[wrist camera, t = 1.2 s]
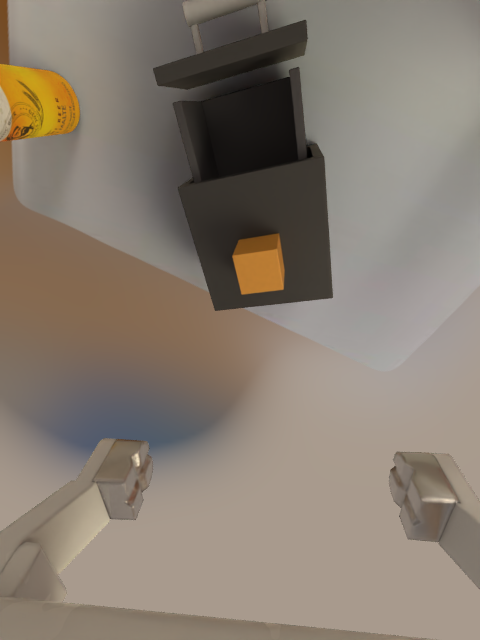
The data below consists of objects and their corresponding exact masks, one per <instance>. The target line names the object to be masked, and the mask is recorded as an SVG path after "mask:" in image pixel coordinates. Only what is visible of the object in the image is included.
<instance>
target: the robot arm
mask: <svg viewBox="0 0 480 640" xmlns="http://www.w3.org/2000/svg"><path fill="white" fill-rule="evenodd" d="M148 451H149V445H148V442H147V441H137V440H124V439H106V438H104V439H103V440H101V441H100V442H99V444H98V445H97V447H96V448H95V450H94V452H93V453H92V455H91V457H90V458H89V460H88V462H87V463H86V465H85V466H84V468H83V469H82V471H81V473H80V474H79V476H78V478H77V479H76V481H70V482H69V483H67V484H66V485H65V486H63V487H62V488H60V489H59V490H58V491H56V492H55V493H53V494H52V495H51V496H49V497H48V498H46V499H45V500H44V501H42V502H41V503H39V504H38V505H37V506H35V507H34V508H32V509H31V510H30V511H28V512H27V513H25V514H24V515H23V516H21V517H20V518H19V519H17V520H16V521H14V522H13V523H12V524H10V525H9V526H8V527H6V528H5V529H3V530H2V531H1V532H0V640H436V639H426V638H416V637H406V636H396V635H386V634H375V633H366V632H356V631H345V630H335V629H325V628H316V627H306V626H296V625H286V624H276V623H266V622H256V621H246V620H236V619H235V620H234V619H226V618H215V617H206V616H195V615H185V614H175V613H165V612H155V611H145V610H135V609H125V608H115V607H105V606H95V605H84V604H75V603H64V602H63V601H64V599H65V596H66V594H67V592H66V588H65V586H64V584H63V583H62V581H61V579H60V578H59V576H58V575H59V573H61V572H62V571H63V570H64V568H65V567H66V566H67V565H68V564H69V563H70V562H71V561H72V560H73V559H74V558H75V557H76V556H77V555H78V554H79V553H80V552H81V551H82V550H83V549H84V548H85V547H86V546H87V545H88V543H89V542H90V541H91V540H92V539H93V538H94V537H95V536H96V535H97V534H98V533H99V532H100V531H101V530H102V529H103V528H104V527H105V526H106V525H107V523H109V522H110V519H122V520H123V519H124V520H136V518H137V516H138V513H139V510H140V508H141V505H142V503H143V496H142V492H143V491H144V490H146V489H147V488H148V487H149V484H150V481H151V478H152V473H153V461H152V458H151V456H149V455H148V454H147V453H148ZM393 460H394V463H395V465H396V466H395V467H394V468H392V469H391V470H390V476H389V485H390V490H391V494H392V497H393V500H394V502H395V503H396V504H397V505H398V506H399V507H400V508H401V512H400V516H399V517H400V519H401V522H402V525H403V527H404V530H405V533H406V536H407V538H408V539H411V540H421V541H431V542H439V545H440V546H441V547H442V548H443V549H444V550H445V551H446V553H447V554H448V555H449V556H450V557H451V558H452V559H453V560H454V562H455V563H456V564H457V565H458V566H459V567H460V568H461V569H462V570H463V572H464V573H465V574H466V575H467V576H468V577H469V578H470V579H471V580H472V581H473V583H474V584H475V585H476V586H477V587H478V588H479V589H480V501H479V499H478V498H477V496H476V495H475V493H474V491H473V490H472V488H471V486H470V485H469V483H468V481H467V480H466V478H465V477H464V475H463V473H462V472H461V470H460V469H459V467H458V465H457V464H456V462H455V461H454V459H453V457H452V456H451V455H449V454H441V453H421V452H397V453H396V454H395V456H394V459H393Z"/></svg>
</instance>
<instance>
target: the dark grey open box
mask: <svg viewBox="0 0 480 640" xmlns="http://www.w3.org/2000/svg"><path fill="white" fill-rule="evenodd" d="M306 150H307V159H303V160H298V161H293V162H289V163H284V164H280V165H275V166H270V167H266V168H261V169H256V170H252V171H247V172H242V173H238V174H233V175H229V176H224V177H219V178H215V179H210V180H205V181H201V182H196V183H194V179H193V177H192V178H191V179H190V180H188V181H187V182H185V183H184V184H183V185H181V186H180V187H178V190H179V194H180V197H181V200H182V203H183V207H184V210H185V213H186V217H187V220H188V223H189V227H190V230H191V233H192V236H193V240H194V243H195V246H196V250H197V253H198V256H199V259H200V263H201V266H202V269H203V273H204V276H205V279H206V282H207V286H208V289H209V292H210V295H211V299H212V302H213V305H214V308H215V311H218V310H227V309H236V308H245V307H254V306H264V305H273V304H282V303H291V302H300V301H309V300H318V299H328V298H333V291H332V275H331V259H330V243H329V227H328V211H327V195H326V179H325V163H324V156H323V154H322V152H321V151H320V149H319V147H318V145H317V144H313V145H309V146H306ZM278 233H279V237H280V243H281V250H282V257H283V263H284V270H285V272H284V289H283V290H276V291H267V292H259V293H251V294H241V290H240V286H239V282H238V278H237V273H236V269H235V265H234V261H233V257H232V255H233V253H234V250H235V248H236V246H237V243H238V241H239V240H241V239H247V238H253V237H260V236H266V235H272V234H278Z"/></svg>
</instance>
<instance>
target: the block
mask: <svg viewBox="0 0 480 640" xmlns="http://www.w3.org/2000/svg"><path fill="white" fill-rule="evenodd" d="M232 257H233V261H234V265H235V269H236V273H237V278H238V282H239V286H240V290H241V294H251V293H259V292H267V291H276V290H283V289H284V272H285V270H284V263H283V257H282V250H281V243H280V237H279V233H278V234H272V235H266V236H260V237H253V238H247V239H241V240H239V241H238V243H237V246H236V248H235V250H234V253H233V255H232Z"/></svg>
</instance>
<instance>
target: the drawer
mask: <svg viewBox="0 0 480 640" xmlns="http://www.w3.org/2000/svg"><path fill="white" fill-rule="evenodd" d="M265 1H267V0H188V1H185V2H183V12H184V16H185V19H186V22H187V24H188V26H189V27H191V31H192V35H193V40H194V44H195V49H196V53H197V54H196V55H193V56H190V57H187V58H184V59H181V60H178V61H175V62H171V63H168V64H165V65H162V66H159V67H156V68H153V71H154V74H155V78H156V81H157V85H158V86H165V87H172V88H179V89H186V90H188V89H191V88H195V87H198V86H202V85H205V84H208V83H212V82H215V81H219V80H222V79H225V78H229V77H232V76H236V75H239V74H242V73H246V72H249V71H253V70H256V69H260V68H263V67H266V66H270V65H273V64H277V63H280V62H283V61H287V60H290V59H294V58H297V57H300V56H304V55H305V50H306V45H307V39H308V37H307V24H306V20H303V21H300V22H297V23H293V24H290V25H287V26H284V27H281V28H278V29H275V30H272V31H269V30H268V22H267V14H266V6H265ZM256 4H258V10H259V18H260V25H261V33H262V34H259V35H256V36H253V37H250V38H246V39H243V40H240V41H237V42H234V43H231V44H228V45H225V46H221V47H218V48H215V49H212V50H209V51H206V52H204V50H203V45H202V41H201V36H200V31H199V27H198V24H201V23H203V22H206V21H209V20H212V19H215V18H218V17H221V16H224V15H227V14H230V13H233V12H235V11H238V10H241V9H244V8H247V7H250V6H253V5H256ZM289 74H290V77H287V78H283V79H280V80H276V81H273V82H269V83H266V84H262V85H258V86H255V87H251V88H248V89H244V90H241V91H237V92H233V93H230V94H226V95H223V96H219V97H216V98H212V99H208V100H205V101H201V102H200V101H178V102H174V103H173V106H174V110H175V114H176V117H177V121H178V124H179V128H180V132H181V135H182V139H183V143H184V146H185V150H186V154H187V157H188V161H189V165H190V168H191V172H192V175H193V179H194V183H196V182H201V181H205V180H210V179H215V178H219V177H224V176H229V175H233V174H238V173H242V172H247V171H252V170H256V169H261V168H266V167H270V166H275V165H280V164H284V163H289V162H293V161H298V160H303V159H307V150H306V139H305V128H304V116H303V105H302V94H301V83H300V71H299V67H297V68H293V69H290V70H289Z"/></svg>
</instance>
